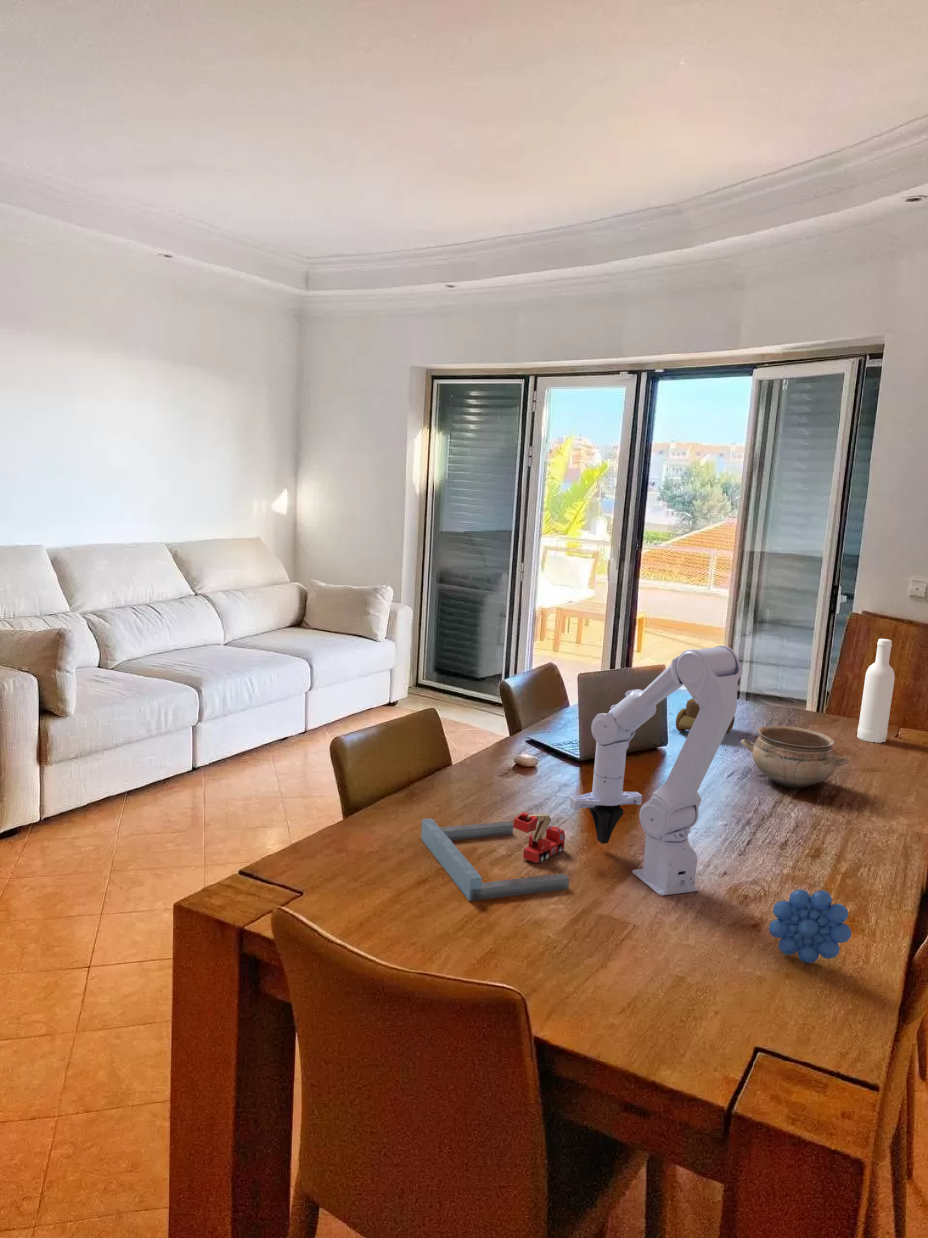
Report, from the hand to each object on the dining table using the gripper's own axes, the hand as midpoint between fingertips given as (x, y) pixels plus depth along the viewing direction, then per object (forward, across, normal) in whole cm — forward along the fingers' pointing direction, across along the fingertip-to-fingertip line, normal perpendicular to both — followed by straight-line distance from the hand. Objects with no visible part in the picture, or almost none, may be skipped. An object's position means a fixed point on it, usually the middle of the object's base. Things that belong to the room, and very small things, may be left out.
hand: (602, 841), depth 172 cm
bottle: (+2, -120, -53) cm, 132 cm away
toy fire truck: (+2, +14, 0) cm, 14 cm away
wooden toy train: (+2, -72, -68) cm, 99 cm away
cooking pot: (+2, -66, -25) cm, 71 cm away
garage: (+2, +23, 0) cm, 23 cm away
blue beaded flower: (+2, -12, +43) cm, 45 cm away
